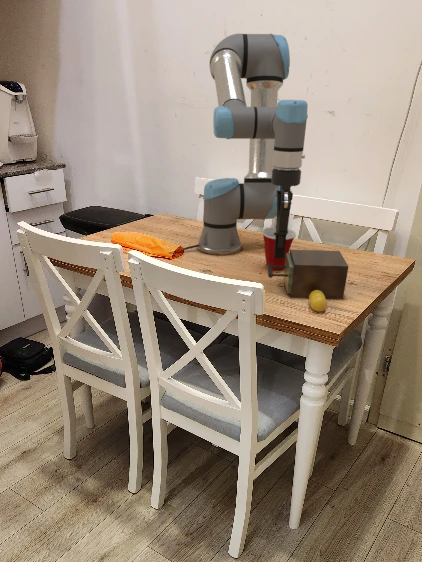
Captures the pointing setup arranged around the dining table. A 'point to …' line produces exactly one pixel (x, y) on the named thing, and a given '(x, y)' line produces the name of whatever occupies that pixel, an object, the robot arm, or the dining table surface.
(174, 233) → the dining table surface
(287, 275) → the drawer
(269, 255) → the plastic cup
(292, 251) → the cabinet
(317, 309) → the yellow oval piece
